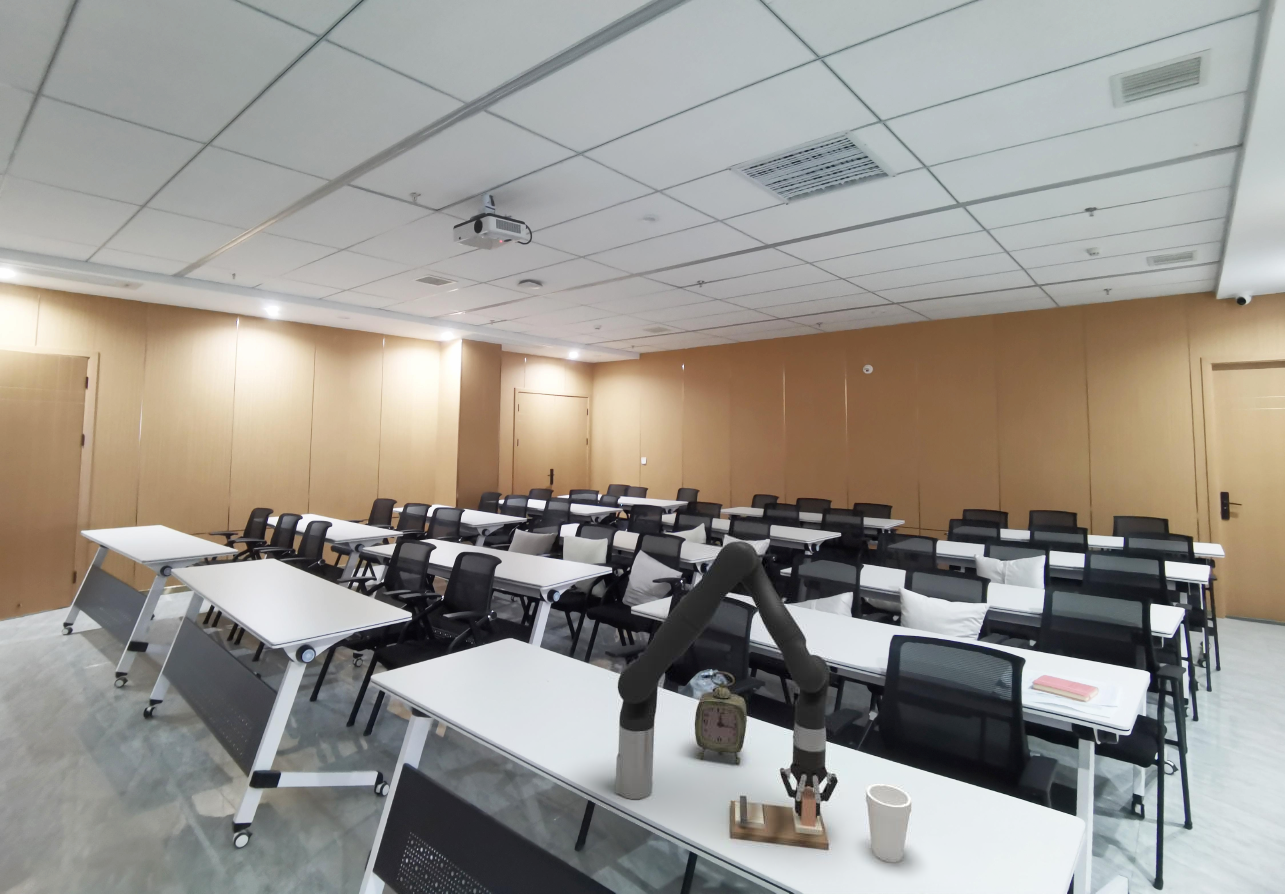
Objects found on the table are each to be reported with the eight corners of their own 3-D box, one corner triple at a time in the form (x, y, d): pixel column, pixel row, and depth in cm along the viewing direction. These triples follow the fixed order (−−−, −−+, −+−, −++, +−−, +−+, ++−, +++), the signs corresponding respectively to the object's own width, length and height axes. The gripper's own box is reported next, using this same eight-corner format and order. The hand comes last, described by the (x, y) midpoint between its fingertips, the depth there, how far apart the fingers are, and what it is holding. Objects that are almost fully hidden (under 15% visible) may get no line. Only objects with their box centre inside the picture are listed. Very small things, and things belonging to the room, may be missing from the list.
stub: (795, 832, 141) (796, 800, 142) (792, 812, 149) (793, 782, 149) (822, 835, 141) (823, 803, 141) (817, 815, 149) (818, 785, 149)
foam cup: (898, 840, 142) (899, 784, 143) (917, 866, 133) (919, 807, 133) (858, 839, 142) (859, 783, 142) (874, 866, 133) (876, 806, 133)
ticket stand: (730, 837, 141) (731, 821, 141) (730, 806, 154) (731, 791, 154) (828, 849, 138) (829, 832, 138) (820, 816, 151) (820, 801, 151)
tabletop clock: (693, 760, 177) (696, 673, 177) (698, 745, 186) (700, 663, 186) (743, 767, 174) (746, 679, 174) (746, 752, 182) (748, 669, 183)
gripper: (780, 746, 143) (778, 821, 142) (842, 752, 141) (840, 828, 140) (778, 732, 150) (775, 803, 150) (837, 738, 148) (835, 809, 148)
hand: (807, 814), depth 145 cm, fingers closed on stub, 3 cm apart
